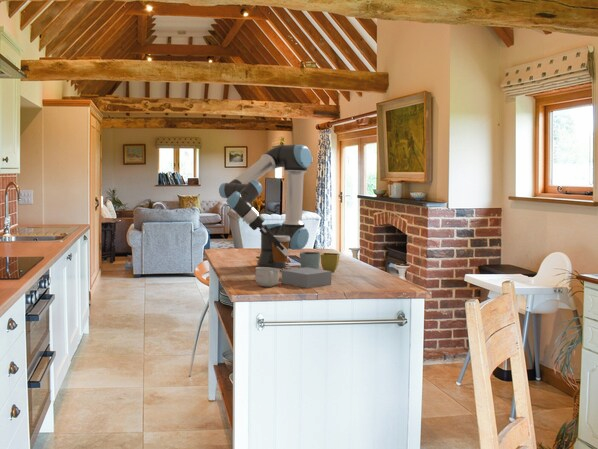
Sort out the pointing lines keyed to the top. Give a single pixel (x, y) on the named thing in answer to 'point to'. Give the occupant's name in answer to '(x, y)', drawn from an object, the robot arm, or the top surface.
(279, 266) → the robot arm
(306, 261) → the grey-green cup
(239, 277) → the top surface
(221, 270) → the top surface
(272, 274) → the teacup
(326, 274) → the riser block
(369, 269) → the top surface
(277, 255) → the disposable coffee cup
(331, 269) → the flower pot
